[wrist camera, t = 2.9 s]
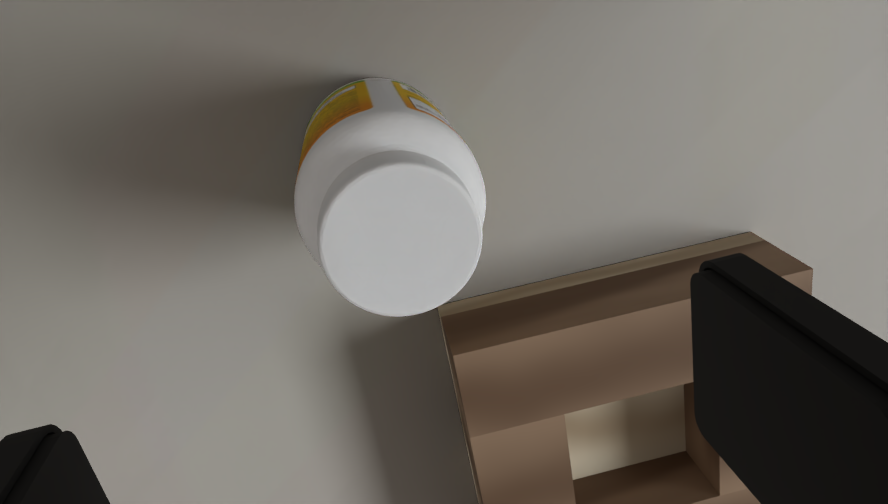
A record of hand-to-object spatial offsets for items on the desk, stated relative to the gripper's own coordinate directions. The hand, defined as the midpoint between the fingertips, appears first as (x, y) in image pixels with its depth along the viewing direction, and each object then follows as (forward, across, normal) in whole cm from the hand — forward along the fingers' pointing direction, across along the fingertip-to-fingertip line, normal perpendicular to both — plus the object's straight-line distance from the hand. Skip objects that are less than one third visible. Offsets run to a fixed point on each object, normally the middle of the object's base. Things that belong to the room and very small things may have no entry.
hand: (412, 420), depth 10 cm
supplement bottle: (+16, -1, 0) cm, 16 cm away
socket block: (+16, -9, +14) cm, 23 cm away
